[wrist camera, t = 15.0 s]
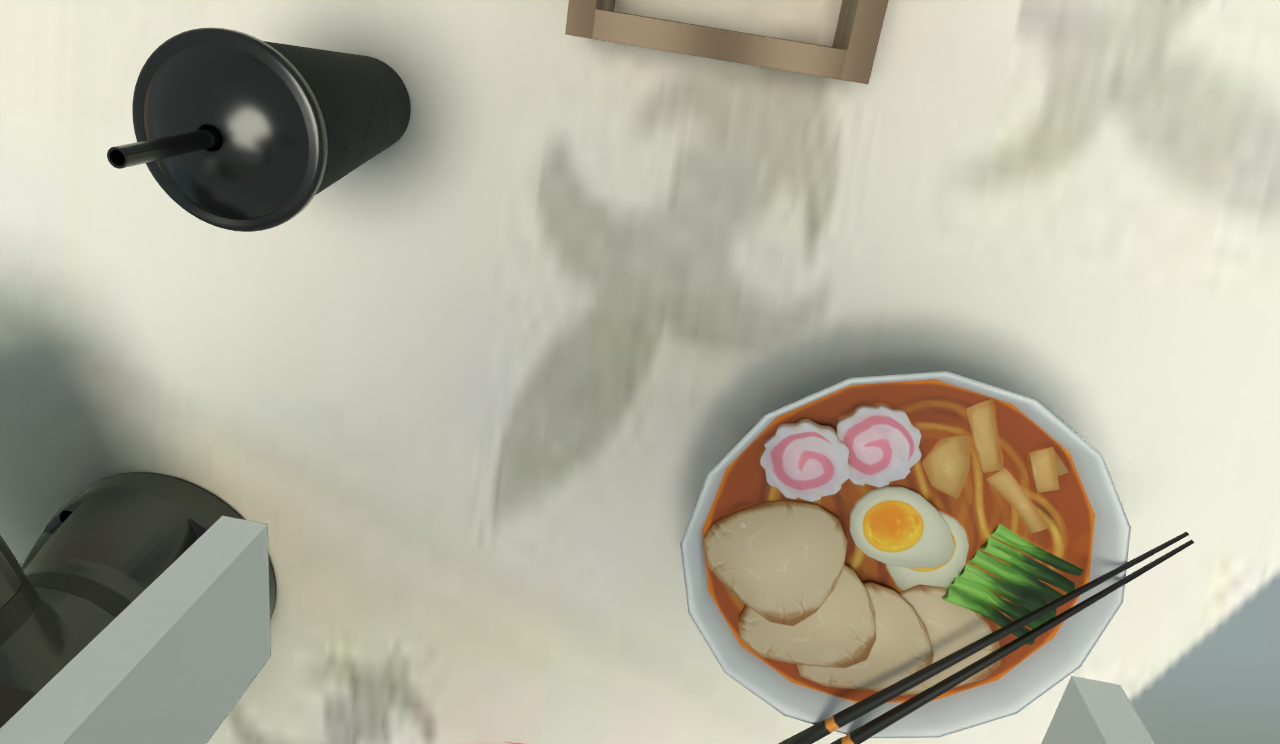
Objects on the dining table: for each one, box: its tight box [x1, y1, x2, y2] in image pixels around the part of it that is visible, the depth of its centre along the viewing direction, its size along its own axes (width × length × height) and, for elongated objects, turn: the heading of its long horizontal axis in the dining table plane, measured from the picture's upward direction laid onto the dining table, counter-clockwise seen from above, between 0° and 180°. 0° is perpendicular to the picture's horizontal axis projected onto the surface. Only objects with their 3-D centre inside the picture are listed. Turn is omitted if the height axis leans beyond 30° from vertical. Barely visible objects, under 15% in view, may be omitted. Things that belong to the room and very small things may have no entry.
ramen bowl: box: [681, 371, 1194, 744], centre depth 48 cm, size 25×23×8 cm
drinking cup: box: [107, 28, 410, 232], centre depth 36 cm, size 8×8×20 cm
